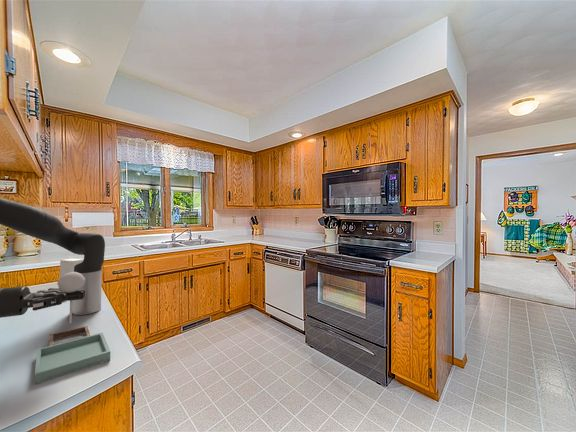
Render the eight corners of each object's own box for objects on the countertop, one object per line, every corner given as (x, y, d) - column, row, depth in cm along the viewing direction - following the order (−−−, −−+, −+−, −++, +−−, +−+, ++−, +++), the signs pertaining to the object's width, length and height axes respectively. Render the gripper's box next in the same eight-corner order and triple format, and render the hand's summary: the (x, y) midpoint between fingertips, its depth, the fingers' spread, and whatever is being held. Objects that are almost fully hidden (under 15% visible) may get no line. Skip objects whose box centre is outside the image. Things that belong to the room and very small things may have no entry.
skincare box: (58, 288, 136) (59, 260, 136) (70, 284, 143) (71, 258, 143) (71, 289, 135) (71, 260, 135) (83, 285, 141) (83, 258, 141)
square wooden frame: (49, 340, 81) (49, 334, 81) (87, 331, 88) (87, 325, 88) (49, 352, 74) (49, 346, 74) (90, 341, 81) (90, 335, 81)
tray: (37, 357, 71) (37, 349, 71) (102, 340, 82) (102, 332, 82) (34, 384, 60) (34, 374, 60) (110, 359, 71) (110, 351, 71)
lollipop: (81, 317, 77) (83, 269, 77) (86, 322, 73) (87, 272, 73) (54, 323, 72) (56, 272, 72) (57, 329, 68) (59, 275, 68)
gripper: (-13, 296, 60) (79, 287, 68) (13, 282, 71) (89, 276, 80) (-14, 327, 60) (79, 314, 68) (12, 308, 71) (88, 299, 80)
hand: (84, 294), depth 74 cm, fingers closed on lollipop, 1 cm apart
